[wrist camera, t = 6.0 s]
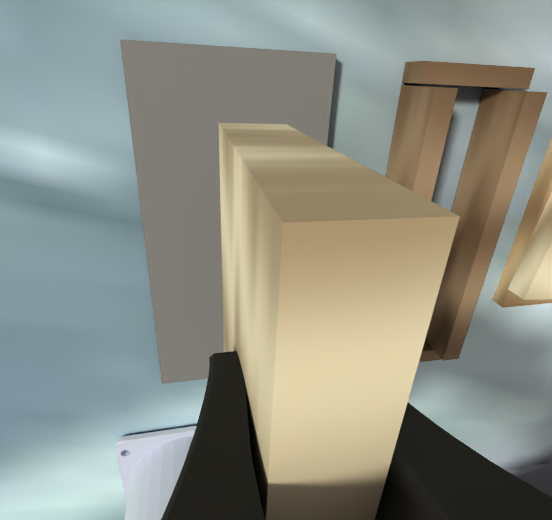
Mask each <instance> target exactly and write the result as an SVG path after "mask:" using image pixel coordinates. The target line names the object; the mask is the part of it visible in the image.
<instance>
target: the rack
mask: <svg viewBox="0 0 552 520" xmlns="http://www.w3.org/2000/svg"><path fill="white" fill-rule="evenodd" d="M534 70H535V68H525V67H510V66H494V65H479V64H463V63H448V62H432V61H417V62H406V63H405V69H404V75H403V80H402V83H418V84H438V85H458V86H478V87H498V88H519V89H529V85H530V82H531V79H532V76H533V73H534ZM457 90H458V88H445V87H427V86H407V85H402V86H401V92H400V98H399V103H398V109H397V115H396V120H395V126H394V132H393V137H392V143H391V149H390V155H389V160H388V166H387V172H386V177H387V178H388V179H390V180H392V181H394V182H396V183H398V184H400V185H402V186H403V187H405V188H407V189H409V190H411V191H413V192H415V193H417V194H419V195H420V196H422V197H424V198H426V199H428V200H430V201H431V200H432V196H433V192H434V188H435V183H436V179H437V175H438V171H439V166H440V162H441V158H442V154H443V150H444V145H445V141H446V137H447V133H448V128H449V124H450V120H451V116H452V112H453V107H454V103H455V99H456V95H457ZM546 95H547V92H528V91H510V90H490V89H484V90H483V93H482V97H481V101H480V105H479V108H478V112H477V116H476V120H475V124H474V127H473V131H472V135H471V139H470V142H469V146H468V150H467V154H466V158H465V161H464V165H463V169H462V173H461V176H460V180H459V184H458V188H457V192H456V195H455V199H454V203H453V207H452V210H451V212H453V213H454V214H456V215H458V216H460V217H459V221H458V225H457V228H456V232H455V235H454V239H453V242H452V246H451V249H450V253H449V257H448V260H447V264H446V267H445V271H444V274H443V278H442V282H441V285H440V289H439V292H438V296H437V299H436V303H435V306H434V310H433V314H432V317H431V321H430V324H429V328H428V331H427V335H426V338H425V342H424V346H423V349H422V353H421V356H420V360H419V362H424V361H431V360H439V359H442V360H450V359H458V358H459V355H460V352H461V349H462V346H463V343H464V340H465V337H466V334H467V331H468V328H469V325H470V322H471V319H472V316H473V313H474V310H475V307H476V304H477V301H478V298H479V295H480V292H481V289H482V286H483V283H484V280H485V277H486V274H487V271H488V268H489V265H490V262H491V259H492V256H493V253H494V250H495V247H496V244H497V241H498V238H499V235H500V232H501V229H502V226H503V223H504V220H505V217H506V214H507V211H508V208H509V205H510V202H511V199H512V196H513V193H514V190H515V187H516V184H517V181H518V178H519V175H520V172H521V169H522V167H523V164H524V161H525V158H526V155H527V152H528V149H529V146H530V143H531V140H532V137H533V134H534V131H535V128H536V125H537V122H538V119H539V116H540V113H541V110H542V107H543V104H544V101H545V98H546Z"/></svg>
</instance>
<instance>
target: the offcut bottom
mask: <svg viewBox="0 0 552 520" xmlns="http://www.w3.org/2000/svg"><path fill="white" fill-rule="evenodd" d="M551 192H552V138H551V141H550V144H549V147H548V149H547V152H546V155H545V158H544V160H543V163H542V166H541V169H540V171H539V174H538V177H537V180H536V182H535V185H534V188H533V191H532V193H531V196H530V199H529V202H528V204H527V207H526V210H525V213H524V215H523V218H522V221H521V224H520V226H519V229H518V232H517V235H516V237H515V240H514V243H513V246H512V248H511V251H510V254H509V257H508V259H507V262H506V265H505V268H504V270H503V273H502V276H501V279H500V281H499V284H498V287H497V290H496V292H495V295H494V298H493V301H495V302H496V303H497V304H499V305H500V306H502V307H512V306H523V305H533V304H544V303H552V299H545V300H523V299H522V298H520V297H519V296H517V295H516V294H514V293H513V292H511V291H510V290H508V287H509V285H510V283H511V281H512V279H513V276H514V274H515V272H516V270H517V267H518V265H519V263H520V261H521V259H522V256H523V254H524V252H525V250H526V247H527V245H528V243H529V241H530V239H531V236H532V234H533V232H534V230H535V227H536V225H537V223H538V221H539V219H540V216H541V214H542V212H543V210H544V207H545V205H546V203H547V201H548V199H549V196H550V194H551Z"/></svg>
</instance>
